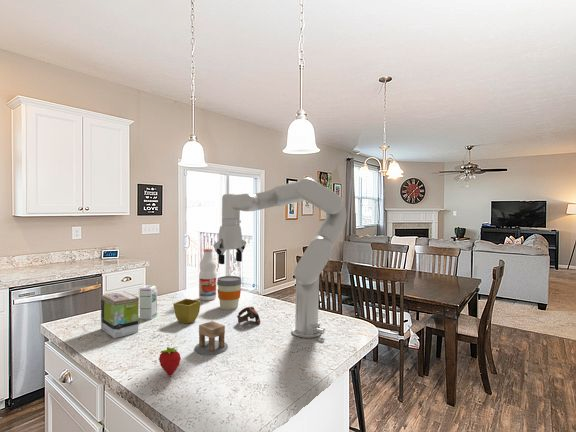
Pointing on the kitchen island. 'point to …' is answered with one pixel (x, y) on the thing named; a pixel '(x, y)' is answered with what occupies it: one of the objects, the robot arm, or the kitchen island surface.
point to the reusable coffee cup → (229, 291)
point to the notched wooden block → (211, 334)
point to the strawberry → (169, 360)
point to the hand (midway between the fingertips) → (230, 262)
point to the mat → (206, 349)
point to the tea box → (119, 314)
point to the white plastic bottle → (207, 277)
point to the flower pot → (187, 310)
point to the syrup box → (148, 302)
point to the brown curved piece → (248, 315)
